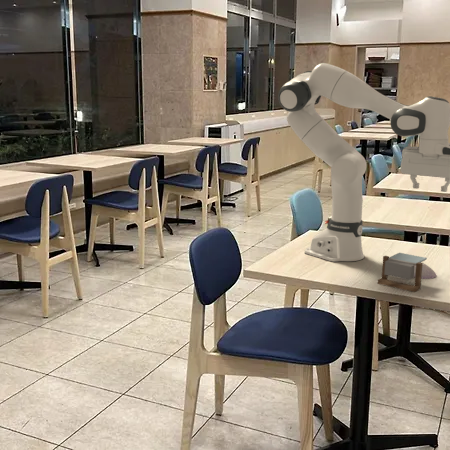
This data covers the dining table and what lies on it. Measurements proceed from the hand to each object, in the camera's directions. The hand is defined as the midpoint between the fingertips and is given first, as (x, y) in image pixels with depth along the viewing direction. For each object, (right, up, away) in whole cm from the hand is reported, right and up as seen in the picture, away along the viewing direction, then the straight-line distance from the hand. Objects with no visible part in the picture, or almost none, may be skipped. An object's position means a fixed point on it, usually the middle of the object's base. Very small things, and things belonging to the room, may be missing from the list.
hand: (429, 189), depth 190 cm
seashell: (0, -29, +7) cm, 30 cm away
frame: (-12, -31, -5) cm, 34 cm away
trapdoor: (-9, -27, -3) cm, 29 cm away
